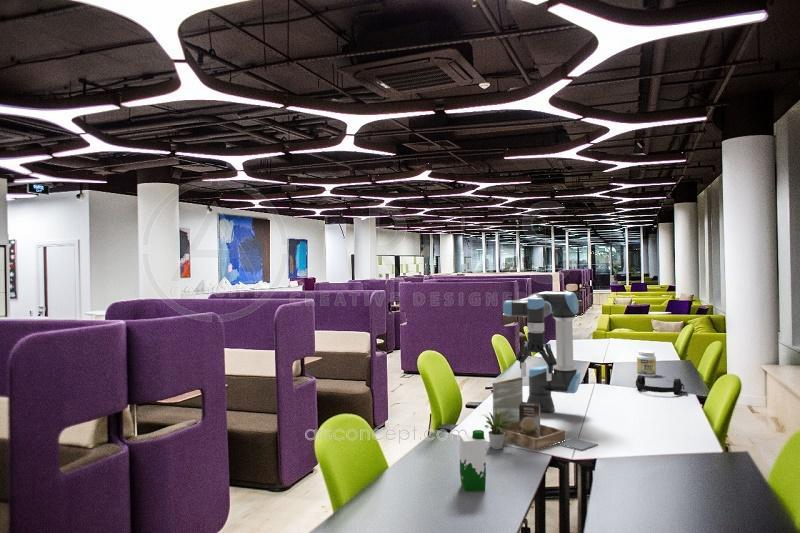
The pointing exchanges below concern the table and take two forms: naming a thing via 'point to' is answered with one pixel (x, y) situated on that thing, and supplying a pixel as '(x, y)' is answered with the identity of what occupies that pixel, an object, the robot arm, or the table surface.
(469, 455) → the milk carton
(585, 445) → the mat
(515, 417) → the frame
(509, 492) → the table surface
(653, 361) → the supplement tub
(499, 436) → the house plant
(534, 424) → the coffee box
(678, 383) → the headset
